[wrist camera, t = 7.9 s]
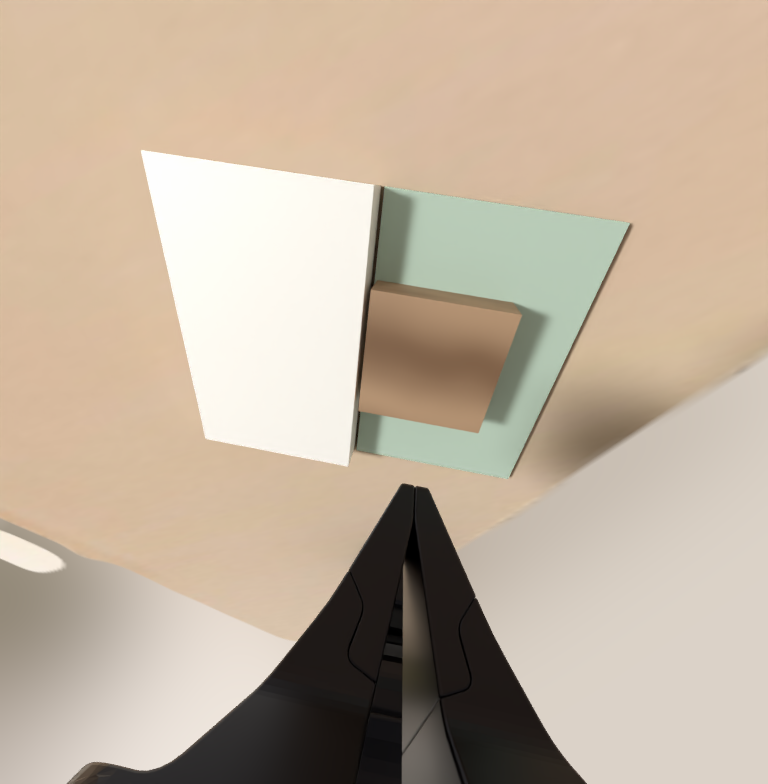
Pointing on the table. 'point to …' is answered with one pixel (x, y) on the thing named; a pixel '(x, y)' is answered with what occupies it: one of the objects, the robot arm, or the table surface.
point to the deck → (269, 298)
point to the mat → (500, 282)
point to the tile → (434, 354)
